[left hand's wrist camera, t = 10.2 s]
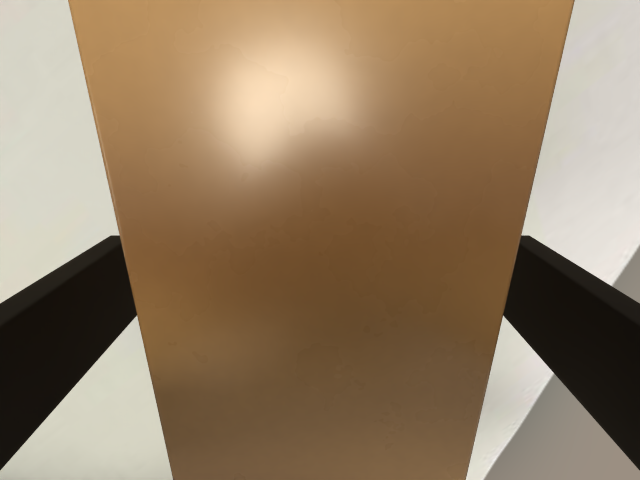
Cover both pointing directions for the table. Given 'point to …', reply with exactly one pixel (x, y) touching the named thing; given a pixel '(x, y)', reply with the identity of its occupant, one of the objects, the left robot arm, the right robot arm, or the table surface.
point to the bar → (320, 218)
